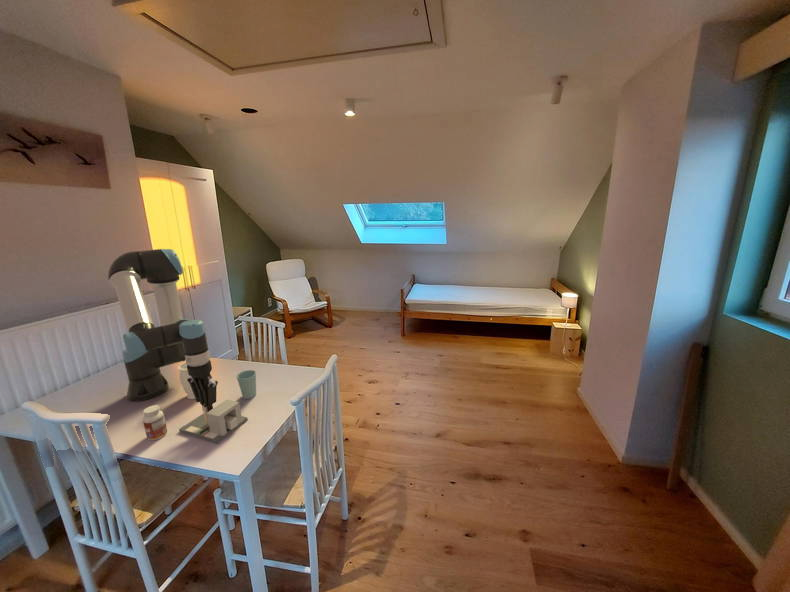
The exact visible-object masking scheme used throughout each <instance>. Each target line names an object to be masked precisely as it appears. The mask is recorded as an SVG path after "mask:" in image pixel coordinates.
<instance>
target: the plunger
mask: <svg viewBox="0 0 790 592" xmlns="http://www.w3.org/2000/svg"><path fill="white" fill-rule="evenodd" d="M205 415H206V420H207V425H208V427H207V428H205V429H204V430H202V431H201V432H199V434H202V433H203V432H205V431H206V430H208V429H209V424H208V419H207V414H206V413H205ZM224 419H225V424H226V428H227V429H230V430H232V429H233V428H235V427H236V426H237V425H238V422H237V418H235V417H232V416H228V415H225V416H224Z"/></svg>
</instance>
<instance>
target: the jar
mask: <svg viewBox="0 0 790 592" xmlns="http://www.w3.org/2000/svg"><path fill="white" fill-rule="evenodd" d="M177 370H178V371H179V381H180V384H181V387H182V388H183V390H184V392H185V393H186V394H187V395H186V398H187V399H188V400H196V399H195V396H194V394H193V391H192V388H191V386H190V384H189V382H188V381H187V379H188V378H190V377H191V376H190V375H189V374H188V370H187V364H186V361H184V362H183V363H181V364H179V365H178V366H177Z"/></svg>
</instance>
